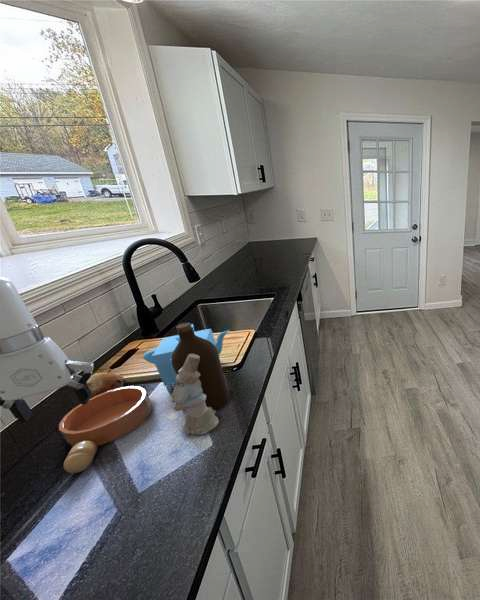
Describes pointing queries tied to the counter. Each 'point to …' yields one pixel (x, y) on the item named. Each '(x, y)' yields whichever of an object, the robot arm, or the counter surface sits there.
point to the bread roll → (104, 383)
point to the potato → (80, 456)
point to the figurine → (193, 399)
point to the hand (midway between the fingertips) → (58, 409)
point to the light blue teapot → (166, 349)
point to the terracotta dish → (106, 416)
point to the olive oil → (202, 365)
